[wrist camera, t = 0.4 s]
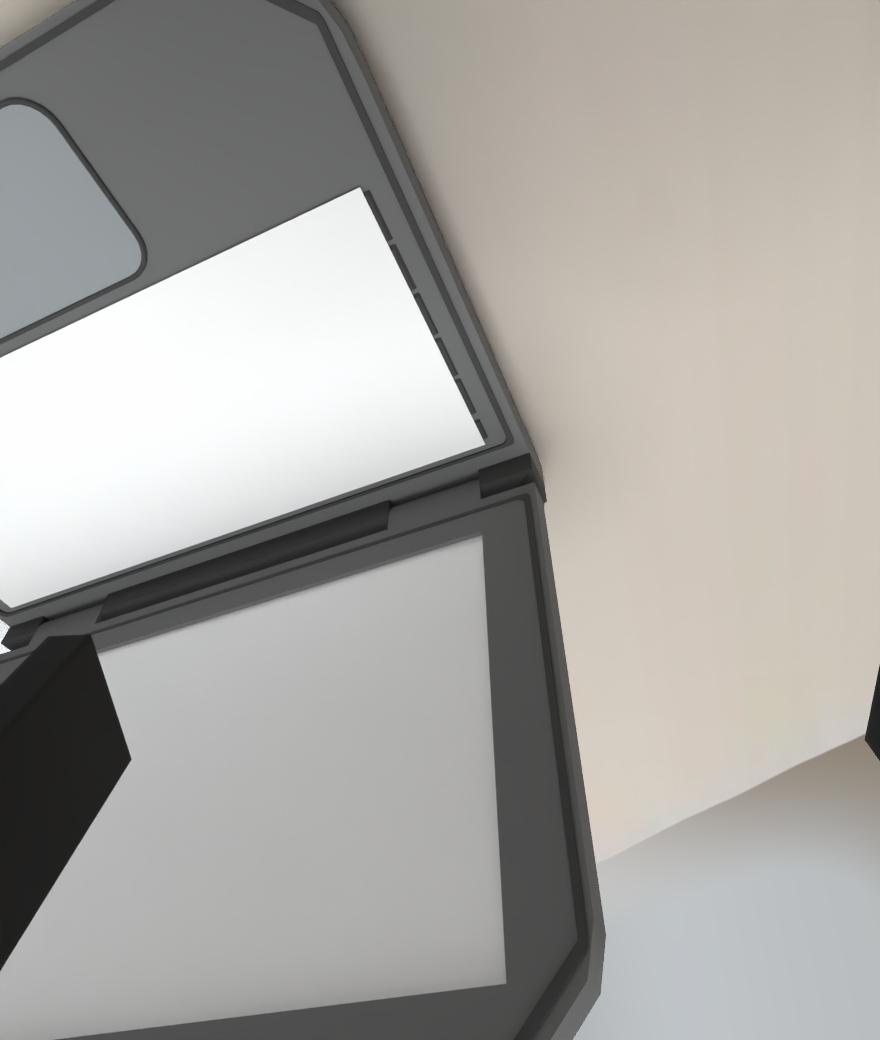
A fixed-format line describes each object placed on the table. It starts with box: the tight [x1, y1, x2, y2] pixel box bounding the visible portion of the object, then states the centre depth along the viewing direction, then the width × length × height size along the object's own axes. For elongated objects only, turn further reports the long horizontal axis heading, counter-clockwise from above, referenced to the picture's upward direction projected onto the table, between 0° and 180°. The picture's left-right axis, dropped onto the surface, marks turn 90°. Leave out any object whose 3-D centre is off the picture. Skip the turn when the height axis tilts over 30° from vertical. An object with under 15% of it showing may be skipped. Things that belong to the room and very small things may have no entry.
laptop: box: [0, 0, 606, 1040], centre depth 29 cm, size 38×31×32 cm
